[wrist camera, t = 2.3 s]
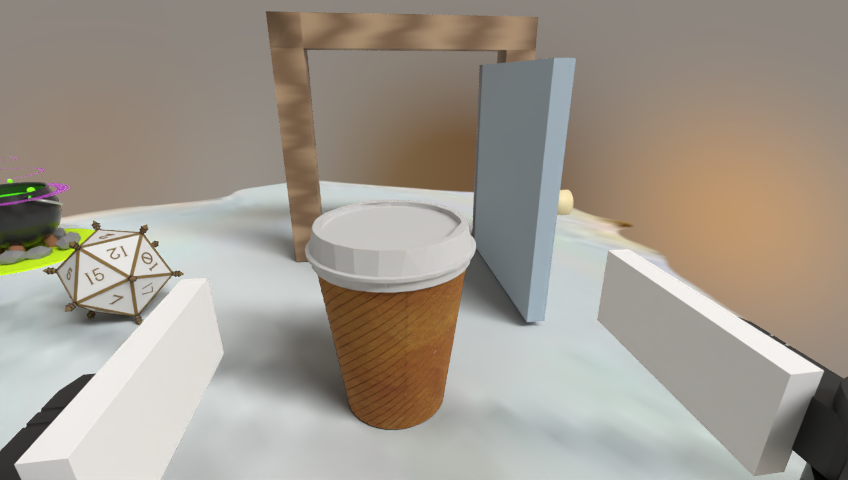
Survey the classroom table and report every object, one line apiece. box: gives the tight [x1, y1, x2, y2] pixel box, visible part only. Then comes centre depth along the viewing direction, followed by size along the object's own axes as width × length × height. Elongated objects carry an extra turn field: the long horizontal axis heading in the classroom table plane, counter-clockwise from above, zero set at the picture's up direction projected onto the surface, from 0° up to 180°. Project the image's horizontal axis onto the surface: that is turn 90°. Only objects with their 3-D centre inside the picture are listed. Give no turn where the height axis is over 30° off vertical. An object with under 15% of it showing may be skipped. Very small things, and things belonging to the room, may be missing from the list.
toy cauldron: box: [0, 168, 95, 275], centre depth 49 cm, size 15×15×11 cm
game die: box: [43, 221, 183, 325], centre depth 36 cm, size 9×8×10 cm
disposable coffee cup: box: [305, 200, 476, 429], centre depth 26 cm, size 10×10×12 cm
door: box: [472, 58, 576, 322], centre depth 40 cm, size 19×4×20 cm, turn 8°
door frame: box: [266, 12, 538, 262], centre depth 46 cm, size 26×3×25 cm, turn 98°
